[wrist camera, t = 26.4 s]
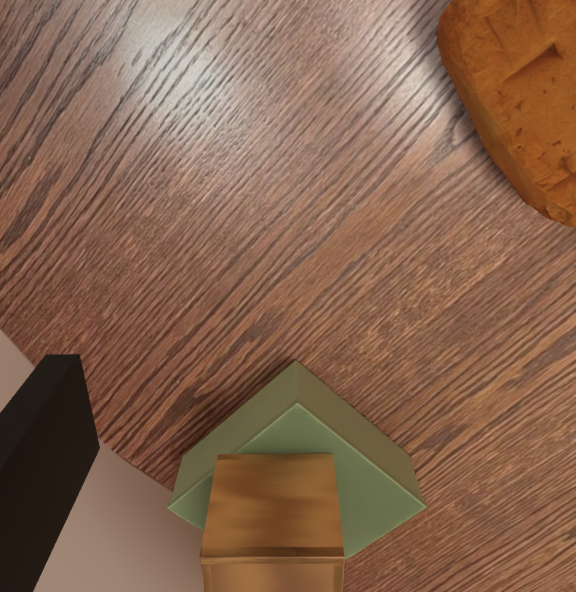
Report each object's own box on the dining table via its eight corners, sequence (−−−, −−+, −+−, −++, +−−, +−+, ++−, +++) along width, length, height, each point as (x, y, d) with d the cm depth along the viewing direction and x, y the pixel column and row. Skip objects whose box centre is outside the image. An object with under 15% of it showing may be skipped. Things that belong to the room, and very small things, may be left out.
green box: (180, 456, 48) (167, 508, 42) (296, 358, 43) (297, 402, 38) (295, 535, 52) (296, 592, 47) (411, 455, 48) (427, 507, 42)
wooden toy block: (223, 534, 44) (209, 645, 36) (217, 453, 40) (199, 557, 32) (329, 534, 44) (338, 644, 36) (333, 453, 40) (344, 557, 32)
